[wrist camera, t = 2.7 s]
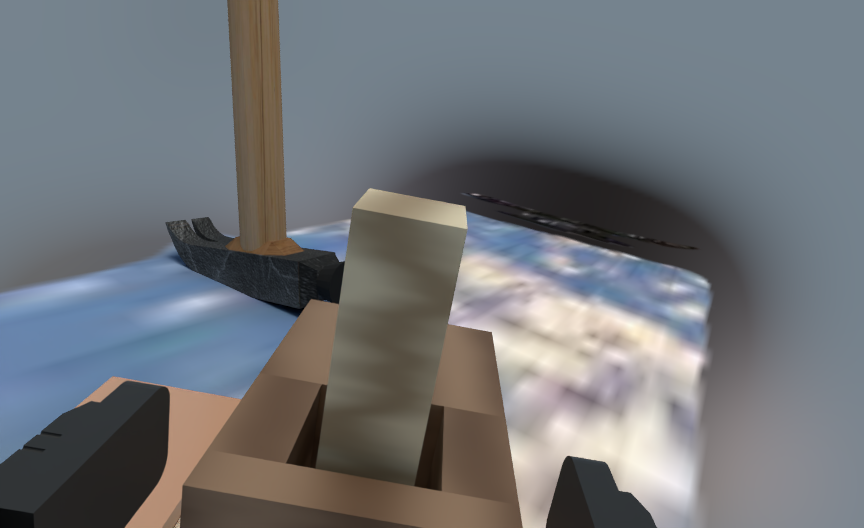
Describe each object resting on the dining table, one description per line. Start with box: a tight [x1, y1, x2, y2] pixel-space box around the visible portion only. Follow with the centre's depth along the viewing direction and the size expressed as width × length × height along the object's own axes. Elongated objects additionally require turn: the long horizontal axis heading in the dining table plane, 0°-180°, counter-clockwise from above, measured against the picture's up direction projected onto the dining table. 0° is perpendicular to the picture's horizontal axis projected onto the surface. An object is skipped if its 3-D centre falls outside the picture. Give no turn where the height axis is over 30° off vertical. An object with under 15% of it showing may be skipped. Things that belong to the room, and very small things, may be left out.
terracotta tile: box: [74, 376, 241, 528], centre depth 27 cm, size 8×12×1 cm, turn 178°
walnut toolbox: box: [180, 299, 523, 528], centre depth 29 cm, size 12×18×6 cm, turn 178°
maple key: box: [316, 189, 467, 486], centre depth 23 cm, size 4×4×16 cm
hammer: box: [166, 0, 345, 309], centre depth 49 cm, size 20×5×30 cm, turn 60°
